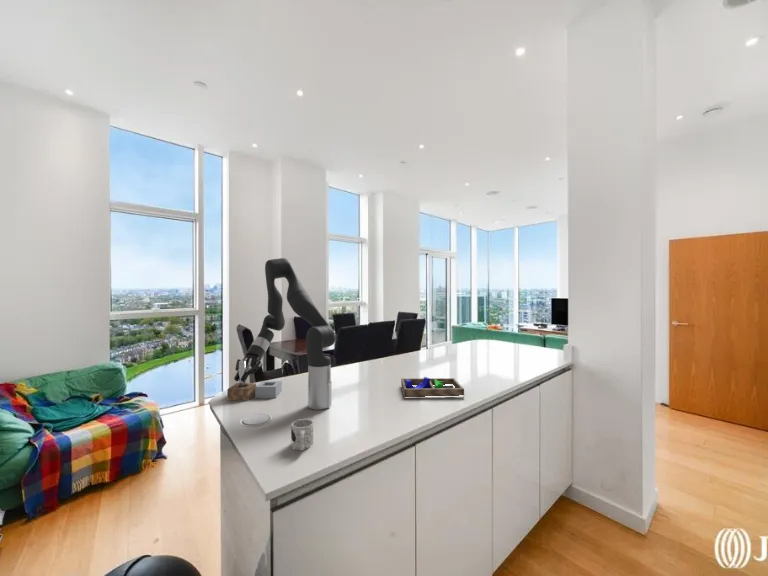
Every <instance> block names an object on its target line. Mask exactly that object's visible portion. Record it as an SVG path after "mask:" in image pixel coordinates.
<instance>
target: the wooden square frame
mask: <svg viewBox="0 0 768 576" xmlns="http://www.w3.org/2000/svg"><path fill="white" fill-rule="evenodd" d="M256 386H257V383H256V382H246V387H239V382H237V383H235V384H233V385H231V386H229V388H227V395H226V396H227V400H229V401H250V400H251V399H252V398H253V397H254V396H255V388H256ZM227 400H226V401H227Z"/></svg>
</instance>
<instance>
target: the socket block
mask: <svg viewBox="0 0 768 576" xmlns="http://www.w3.org/2000/svg"><path fill="white" fill-rule="evenodd" d="M282 384H283V383H282V381H281V380H280V381H279V380H278V381H277V380H264V381H263V380H262V381H261V382H260V383H258V384H256V388H255V395H254V396H255V397H254V398H255V399H276V398H278V396H279V395H280V394H281V393H282V391H283V389H282Z"/></svg>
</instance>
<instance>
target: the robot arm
mask: <svg viewBox="0 0 768 576" xmlns="http://www.w3.org/2000/svg"><path fill="white" fill-rule="evenodd" d="M264 272H265V283H266V289H267V313H268V315H266V316H265V317H264V318H263V322H262V325H261V328H260V331H259V333H258V335H257V336H256V338H255V339H254V340H253V341H252V343H251V345H250V346H249V348H248V349H247V351H246V353H245V354H246V355H245V356H244V357H243V358H242V359H239V358H238V359H237V360H236V364H235V367H234V368H235V371H236V374H235V375H234V377H233V378H234V379H233V380H234V381H235V382H239V361H246V372H245V373H244V374H243V376H242V378H241V381H242V382H245V380H246V381H247V379H248V377H249V376H250V375H254V374H255V373H256V372H257V371H259V370H260V369H261V368H262V366H264V364H263V363H262V362H261V361H262V359H263V357H264V355H265V354H266V352H267V350H268V348H269V347H270V344H271V342H272V341H273V339H274V336H275V333H274V332H273V331H277V332H280V331H282V330H283V329H284V327H285V324H286V321H285V317H284V312H283V303H284V301H283V299H284V298H283V297H282V294H281V293H280V291H279V290H278V289H277V287H276V283H275V280H276V279H281V278H285V279H286V280H287V283H288V287H287V292H286V301H287V302H288V305H289V306H290V307H291V309H292V311H293V312H294V313H295V314H296V315H298V316H299V317H300V318H301V319H303V320H304V321H306V322H308V324H310V325H311V327H310V328H308V330H307V332H306V335H305V345H306V347H305V349H306V359H307V362H308V363H307V364H308V366H307V367H308V373H307V374H308V375H307V376H308V377H307V380H308V382H307V383H308V384H307V387H308V389H307V391H308V392H307V394H308V395H307V406H308V409H310V410H317V411H318V410H325V409H330V407H331V406H332V391H333V390H332V387H333V386H332V380H331V379H332V377H331V376H332V371H331V369H332V367H331V366H332V360H331V357H330V356H328V355H325V354H324V351H323V349H325V348H329V347H332V346H333V345H335V341H336V333H335V331H334V329H333V327H332V326H331V325H330V324H329V322H328V321H327V320H326V319H325V317H324V316H323V315H322V313H321V312H320V311H319V309H318V308H317V307H316V304H314V302H313V300H312V298H311V297H310V295H309V293H308V292H307V291H306V289H305V288H304V286H303V285H302V283H301V281H300V279H299V278H298V276H297V274H296V272H295V270H294V268H293V265H292V263H291V262H290V261H289V259H287V258H284V257H282V258H273V259H268V260H267V261H266V262H265V266H264ZM272 330H273V331H272Z"/></svg>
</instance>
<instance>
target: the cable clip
mask: <svg viewBox="0 0 768 576" xmlns="http://www.w3.org/2000/svg"><path fill="white" fill-rule="evenodd" d="M423 378H424V379H423V382H422V383H419V385H417V386H416V387H413V386H412V381H410V380H405V385H406V389H430V378H431V377H427V376H424V377H423Z"/></svg>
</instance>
